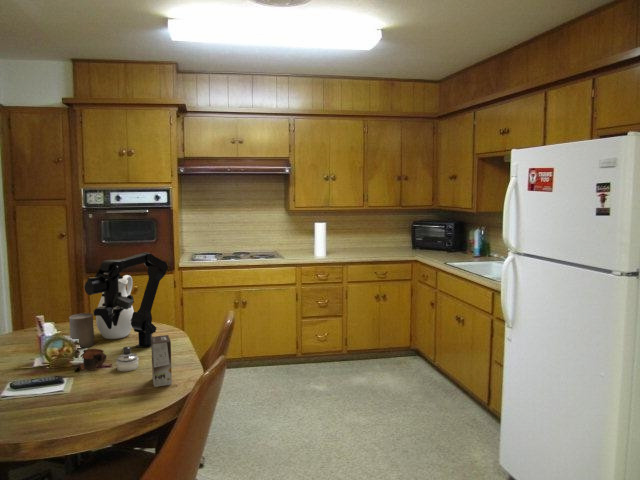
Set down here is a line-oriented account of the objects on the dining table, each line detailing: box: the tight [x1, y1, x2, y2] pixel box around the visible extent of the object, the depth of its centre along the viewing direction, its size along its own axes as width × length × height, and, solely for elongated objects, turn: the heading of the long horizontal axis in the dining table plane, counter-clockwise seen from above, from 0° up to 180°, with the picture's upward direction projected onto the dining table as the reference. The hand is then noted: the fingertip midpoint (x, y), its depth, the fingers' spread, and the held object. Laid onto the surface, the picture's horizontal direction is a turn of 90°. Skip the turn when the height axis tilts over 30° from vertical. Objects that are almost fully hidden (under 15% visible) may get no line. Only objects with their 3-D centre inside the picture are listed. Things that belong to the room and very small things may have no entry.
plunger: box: [116, 346, 138, 361], centre depth 193 cm, size 7×7×4 cm
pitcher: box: [95, 274, 135, 340], centre depth 237 cm, size 24×17×28 cm
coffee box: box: [150, 334, 173, 388], centre depth 180 cm, size 9×6×16 cm
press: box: [115, 355, 140, 372], centre depth 195 cm, size 11×8×4 cm
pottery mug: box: [79, 348, 107, 371], centre depth 195 cm, size 12×10×8 cm
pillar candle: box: [68, 312, 96, 348], centre depth 220 cm, size 10×10×15 cm
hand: (112, 327), depth 206 cm, fingers open, 4 cm apart
